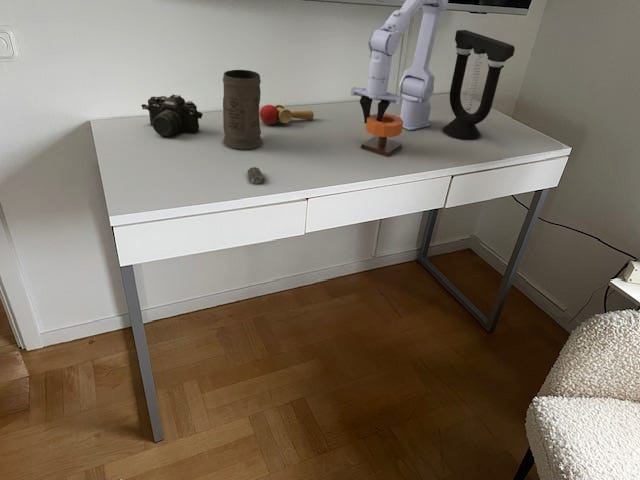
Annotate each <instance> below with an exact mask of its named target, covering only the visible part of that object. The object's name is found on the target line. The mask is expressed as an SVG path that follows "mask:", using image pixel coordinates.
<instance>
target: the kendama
mask: <svg viewBox="0 0 640 480" xmlns="http://www.w3.org/2000/svg"><path fill="white" fill-rule="evenodd" d="M259 119H260V120H261V122H262V123H263V124H264V125H268V126H270V125H274V124H275V123H278V122H280V123H283V124H288V123H290V122H291V121H292V119H299V120H300V119H301V120H309V121H312V120H314V111H313V110H292V111H290V110H289V108H285V107H284V106H283V105H281V104H275V105H272V104H266V105H264V106H262V107H261V108H260V109H259Z"/></svg>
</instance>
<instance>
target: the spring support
mask: <svg viewBox="0 0 640 480" xmlns="http://www.w3.org/2000/svg"><path fill="white" fill-rule="evenodd" d="M454 41H455V44H456V46H455V49H456V60H455V64H454V69H453V74H452V78H451V79H452V80H451V85H450V88H449V104H450V109H451V112H452V113H453V115H454V116H455V118H454V119H453V120H451V121H450V122H449V123H447V125H445V126H444V127H443V128H442V132H443V134H445V135H446V136H448V137H450V138H453V139H458V140H463V141H472V140H477V139H479V138H480V137H481V133H480V131H479V129H478V127H477V125H478V124H479V123H481V122H483V121H484V120H485V119H486V118H487V117H488V116H489V114H490V112H491V110H492V107H493V103H494V98H495V95H496V91H497V87H498V83H499V79H500V76H501V72H502V69H503V68H504V67H505V65H504V64H505V63H506V61H508V60H509V59H511V58H512V57H513V56H514V53H515V51H516V50H515V49H516V48H515V45H513V44H510V43H507V42H504V41H501V40H498V39H495V38H491V37H489V36H486V35H482V34H480V33H476V32H474V31H471V30H468V29H458V30H456V31H455V36H454ZM471 51H473V53H474V54H475V55H478V58H476V59H475V62H474V66H473V71H472V75H471V80H470V83H469V88H468V91H467V92H468V93H467V96H466V98H467V99H466V101H465V105H464V107H463V104H462V97H461V95H462V94H461V92H462V88H463V83H464V80H465V79H464V78H465V75H466V70H467V64H468V60H469V57H470V56H471ZM485 54H486V56H487V66H488V70H487V75H486V79H485V82H484V88H483V91H482V94H481V95H482V96H481V100H480V103H479V106H478V108H477V110H476V111H475V112H473V113H470V112H469V111H471V109H472V107H471V106H473V104H472V103H473V101H474V98H475V96H474V95H475V93H476V89H477V88H476V87H477V84H478V79H479V76H480V72H481V67H482V65H481V64H482V63H483V62H482V61H479V60H480V59H482V58H483V57H484V55H485Z"/></svg>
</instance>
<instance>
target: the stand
mask: <svg viewBox="0 0 640 480" xmlns="http://www.w3.org/2000/svg"><path fill="white" fill-rule="evenodd" d="M402 147H403V143H401V142H398V141H394V140H391V139H388V137H380V136H375V135H374V136H372V137H371V138H370V139H368V140H366V141H364V142H362V143H361V144H360V148H361V149H363V150H366V151H370V152H372V153H376V154H379V155H382V156H385V157H389V156H391V155H393V154H394V153H395V152H397V151H399V150H400V149H401V148H402Z"/></svg>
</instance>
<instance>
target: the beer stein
mask: <svg viewBox="0 0 640 480" xmlns="http://www.w3.org/2000/svg"><path fill="white" fill-rule="evenodd" d="M222 83H223V96H222V119H223V120H222V122H223V123H222V124H223V126H222V127H223V133H224V136H223V144H224V145H225V146H226V147H228V148H230V149H233V150H242V151H243V150H246V151H247V150H252V149H256V148H258V147H260V146H261V145H262V137H261V134H262V129H261V124H260V123H261V121H260V120H261V118H260V103H261V83H262V81H261V75H260V74H259V72H257V71H254V70H249V69H232V70H231V69H230V70H226V71H224V72H223V76H222Z"/></svg>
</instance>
